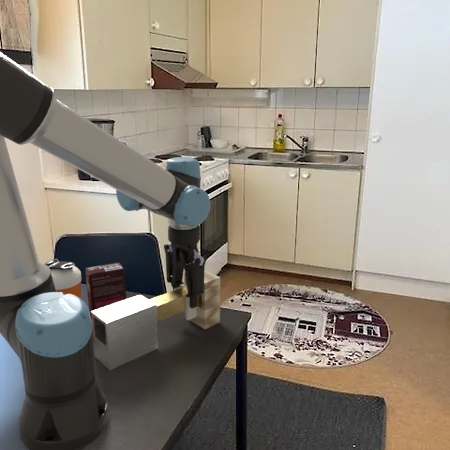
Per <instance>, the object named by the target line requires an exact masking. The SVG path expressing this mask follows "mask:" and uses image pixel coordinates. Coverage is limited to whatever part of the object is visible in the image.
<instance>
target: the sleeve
mask: <svg viewBox="0 0 450 450" xmlns="http://www.w3.org/2000/svg"><path fill="white" fill-rule="evenodd" d="M91 314H92V326H93V329H92V339H93V352H94V358H96V359H97V360H98V361H99V362H100V363H101V364H102V365H104V367H106V368H107V369H108V370H109V371H111V370H113V369H115V368H118V367H120V366H122V365H125V364H126V363H127V364H128V363H129V362H131V361H133V360H136V359H137V358H140V357H142V356H146V355H147V354H149V353H151V352H153V351H156V350H157V349H159V339H158V337H159V335H158V334H159V333H158V322H157V304H155V303H153V302H152V301H150V300H149V299H148V298H147V297H145V296H144V295H141V294H138V295H135V296H132V297H128V298H126V300H123V301H120V302H117V303H114V304H111V305H108V306H106V307H103V308H100V309H97V310H94V311H91Z"/></svg>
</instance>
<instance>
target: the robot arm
mask: <svg viewBox="0 0 450 450" xmlns="http://www.w3.org/2000/svg"><path fill="white" fill-rule="evenodd" d="M6 139H8V140H10V141H12V142H13V143H15V144H16V145H19V146H22V145H25V144H31V145H33V146H34V147H37V148H38V149H41V150H43V151H44V152H46V153H48V154H50V155H52V156H53V157H55V158H57V159H58V160H61V161H63V162H65V163H67V164H69V165H70V166H72V167H74V168H76V169H77V170H80V171H81V172H84V173H85V174H87V175H89V176H90V177H92V178H94V179H96V180H98V181H100V182H101V183H104V184H106V185H107V186H108V187H111V188H113V189H115V194H116V199H117V202H118V204H119V205H120V207H121V208H122V209H123V210H125V211H127V212H131V211H132V212H134V211H135V212H138V211H139V210H140V211H141V210H147V211H148V212H150V213H153V214H157V215H159V216H162V217H164V218H166V219H167V224H168V226H167V240H168V242H170V243H167V244H166V243H165V244H164V245H163V250H164V253H165V267H166V268H165V272H166V274H165V275H166V281H167V283H169V284H170V285H171V287H172V291H174V290H177V289H179V288H182V287H184V281H183V279H184V273H185V277H186V284H187V291H188V294H186V318H185V320H186V321H190V319H193V318H195V317H196V307H197V296H198V295H201V294H203V293H204V270H205V265H206V262H207V256H205V255H203V256H201V254H200V253H199V249H198V243H199V242H200V240H201V226H200V225H201V224H202V223H204V221H205V220H206V219H207V217H208V216H209V213H210V211H211V200H210V196H209V194H208V192H206V191H205V190H204V189H202V188H201V180H202V178H201V165H200V162H199V161H198V159H197V158H193V157H186V156H179V157H178V156H177V157H171V158H169V159H167V161H166V166H165V168H163V167H162V166H160V165H159V164H157V163H156V162H154V161H153V160H151V159H150V158H148V157H146V156H145V155H143V154H141V153H140V152H139V151H137V150H136V149H134V148H133V147H131V146H130V145H127V144H126V143H124V142H123V141H121V140H120V139H118V138H117V137H115V136H114V135H112V134H110V133H109V132H107V131H106V130H105V129H103V128H102V127H100V126H98V125H97V124H95V123H94V122H92V121H91V120H89V119H87V117H86V118H85V117H84V116H83V115H81V114H79V113H78V112H76V110H74V109H72V108H70V107H68V106H67V105H66V104H64V103H63V102H61V101H60V100H58V99H57V97H56V94H55V91H54V88H52V87H51V86H50V85H48V84H46V83H44V82H43V81H41V80H40V79H39V78H38V77H36V76H34V74H32V73H30V72H29V71H27V69H25V68H24V67H22V66H20V65H19V64H18V63H17V62H15V61H14V60H12V59H11V58H9V56H7V55H5V54H3V52H1V51H0V335H1V336H2V337H3V339H4V340H5V341H6V342H7V344H8V345H9V346H10V347H11V349H12V350H13V351H14V353H15V354H16V355H17V357H18V359H19V361H20V364H21V368H22V369H21V371H22V377H23V385H24V389H25V390H24V391H25V394H24V398H23V403H22V407H21V409H20V410H21V411H20V414H19V419H18V430H19V437H20V441H21V443H22V444H23V445H24V446H25V447H26V448H27V449H29V450H79V449H82V448H83V447H85V446H87V445H89V444H90V443H92V442H93V441H94V440H95V439H97V438H98V437H99V436H100V434H102V433H103V431H104V430H105V429H106V426H107V424H108V422H109V406H108V402H107V398H106V397H105V394H104V392H103V391H102V389H101V387H100V384H99V383H98V380H97V379H96V370H95V352H94V339H93V329H92V320H91V317H90V313H89V306H88V305H87V303H86V302H85V301H84V300H83V299H82V298H81V299H80V298H79V297H77V296H75V295H72V294H66V295H64V293H63V292H56V289H55V285H54V282H53V278H52V275H51V271H50V268H49V267H48V266H46V265H44V264H45V263H42V262H40V260H39V258H38V254H37V250H36V246H35V243H34V239H33V235H32V231H31V228H30V225H29V221H28V218H27V213H26V210H25V207H24V203H23V199H22V196H21V193H20V189H19V185H18V182H17V178H16V175H15V171H14V168H13V164H12V160H11V158H10V154H9V149H8V146H7V143H6Z"/></svg>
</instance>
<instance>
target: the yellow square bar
mask: <svg viewBox="0 0 450 450" xmlns="http://www.w3.org/2000/svg"><path fill="white" fill-rule="evenodd" d="M186 294H188V291H187V286H185V287H182V288H179V289H177V290H174V291H173V290H172V291H168V292H166V293H163V294H160V295H157V296H154V297H152V298H149V299H148V300H150V301H152V302H153V303H155V304H157V323H158V322H161V321H163V320H166V319H169V318H171V317H173V316H175V315H178V314H181V313H183V312H185V311H186ZM201 304H202V294H201V295H198V296H197V306H198V305H201Z"/></svg>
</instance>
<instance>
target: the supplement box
mask: <svg viewBox="0 0 450 450" xmlns="http://www.w3.org/2000/svg"><path fill="white" fill-rule="evenodd" d="M125 275H126V273H125V268H124V266H123V265H122V264H121V263H120V262H119V261H118V262H112V263H108V264H103V265H96V266H90V267H85V279H86V290H87V291H86V292H87V300H88V301H87V303H88V309H89V313H90V317H91V320H92V314H91V311H94V310H97V309H100V308H103V307H106V306H108V305H111V304H114V303H117V302H120V301H123V300H126V299H127V289H126V277H125ZM92 330H93V326H92Z"/></svg>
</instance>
